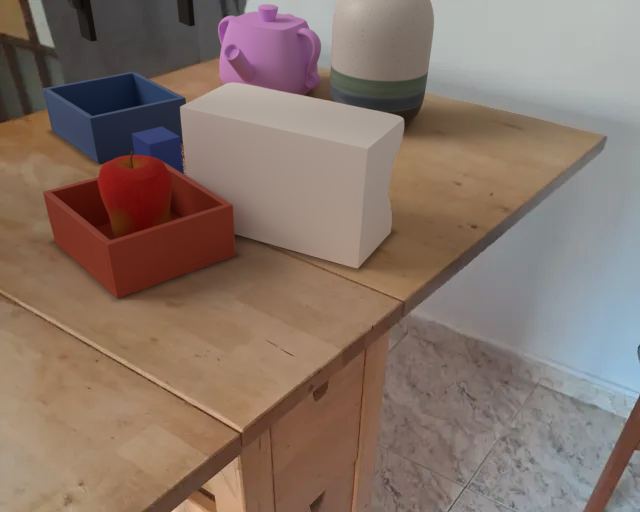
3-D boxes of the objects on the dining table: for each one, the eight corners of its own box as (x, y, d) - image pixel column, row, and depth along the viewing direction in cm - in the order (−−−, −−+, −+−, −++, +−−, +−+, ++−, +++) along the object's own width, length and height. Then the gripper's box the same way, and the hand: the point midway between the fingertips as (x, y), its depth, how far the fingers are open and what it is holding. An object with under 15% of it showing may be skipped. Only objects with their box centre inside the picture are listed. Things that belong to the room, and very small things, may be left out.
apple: (171, 223, 91) (160, 133, 83) (184, 254, 86) (174, 159, 78) (105, 232, 89) (87, 140, 81) (114, 264, 83) (96, 168, 75)
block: (138, 181, 102) (131, 133, 98) (167, 173, 105) (162, 126, 100) (155, 193, 100) (149, 144, 95) (185, 184, 102) (180, 136, 97)
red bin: (55, 242, 88) (42, 191, 84) (167, 208, 96) (161, 160, 92) (117, 298, 79) (107, 245, 75) (235, 255, 87) (233, 204, 83)
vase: (310, 113, 126) (314, -43, 110) (383, 99, 134) (397, -50, 117) (364, 143, 116) (378, -23, 100) (440, 127, 124) (464, -31, 107)
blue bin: (52, 131, 116) (42, 88, 111) (139, 112, 124) (134, 71, 119) (98, 163, 107) (89, 118, 102) (189, 140, 115) (185, 97, 110)
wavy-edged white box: (409, 212, 98) (423, 102, 88) (357, 268, 86) (367, 149, 76) (257, 174, 106) (254, 69, 95) (190, 221, 94) (179, 106, 83)
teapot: (306, 73, 144) (308, -7, 134) (329, 106, 129) (332, 20, 119) (215, 75, 141) (210, -6, 131) (227, 110, 126) (222, 22, 116)
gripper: (194, -197, 79) (208, 12, 94) (-25, -203, 67) (30, 38, 82) (230, -194, 75) (239, 24, 90) (4, -200, 63) (57, 53, 78)
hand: (139, 31), depth 86 cm, fingers open, 13 cm apart
